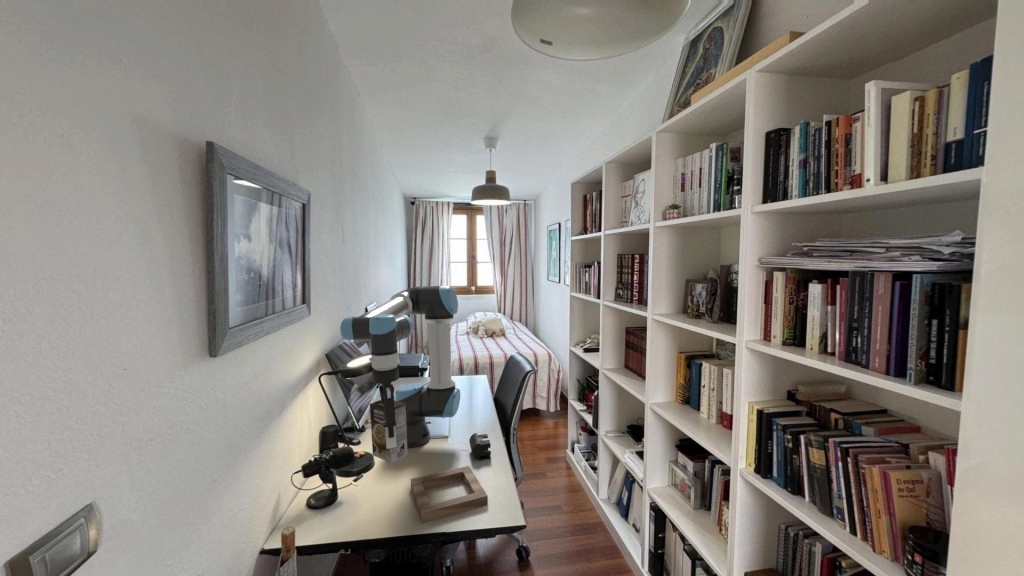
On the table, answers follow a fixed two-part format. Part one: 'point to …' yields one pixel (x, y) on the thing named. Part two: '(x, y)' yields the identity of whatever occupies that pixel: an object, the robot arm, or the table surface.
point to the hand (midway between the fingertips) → (389, 439)
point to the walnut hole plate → (453, 505)
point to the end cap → (480, 446)
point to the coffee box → (380, 432)
